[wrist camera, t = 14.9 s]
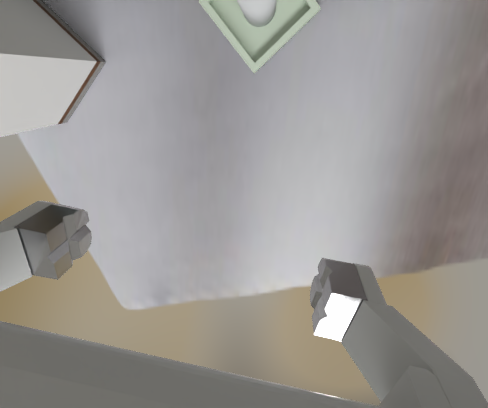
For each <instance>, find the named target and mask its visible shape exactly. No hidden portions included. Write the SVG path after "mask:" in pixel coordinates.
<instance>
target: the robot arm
mask: <svg viewBox="0 0 488 408" xmlns="http://www.w3.org/2000/svg"><path fill="white" fill-rule="evenodd" d="M88 222H89V218H88V213H87V212H86V211H85V210H83V209H79V208H74V207H70V206H65V205H61V204H55V203H51V202H46V201H37V202H35V203H33V204H32V205H30V206H28V207H26V208H25V209H23V210H21V211H19V212H17V213H16V214H14V215H12V216H10V217H8V218H7V219H5V220H3V221H1V222H0V291H2V290H4V289H7V288H8V287H11V286H13V285H15V284H17V283H19V282H21V281H23V280H25V279H27V278H30V277H32V275H36V276H41V277H46V278H52V279H57V280H58V279H59V278H60V277H61V276H62V275H63V274H64V273H65V272H66V271H67V270H68V269H69V268H71V267H72V263H73V260H75V259H77V258H80V257H82V256H83V255H84V254H85V253H86V252H87V250H88V248H89V246H90V244H91V239H92V236H91V231H90V230H89V228H88V227H87V226H86V224H87V223H88ZM318 271H319V274H318V275H316V276H315V277H314V279H313V282H312V286H311V291H310V302H311V306H312V307H313V308H314V313H313V315H312V321H313V329H314V335H318V336H322V337H326V338H330V339H334V340H338V341H342V342H341V343H342V344H343V346H344V347H345V349H346V350H347V352H348V353H349V355H350V356H351V358H352V359H353V361H354V362H355V364H356V365H357V367H358V368H359V370H360V371H361V373H362V374H363V376H364V377H365V379H366V380H367V382H368V383H369V385H370V386H371V388H372V389H373V391H374V392H375V394H376V395H377V397H378V398H379V400H380V401H381V403H380V405H379V406H376V405H371V404H367V403H362V402H358V401H353V400H349V399H345V398H340V397H336V396H331V395H327V394H322V393H318V392H314V391H309V390H305V389H300V388H296V387H291V386H287V385H283V384H278V383H273V382H269V381H265V380H259V379H255V378H251V377H246V376H242V375H238V374H233V373H229V372H224V371H220V370H215V369H211V368H206V367H202V366H197V365H193V364H189V363H184V362H179V361H175V360H171V359H166V358H162V357H157V356H153V355H148V354H144V353H140V352H135V351H131V350H126V349H121V348H117V347H113V346H108V345H104V344H100V343H95V342H91V341H86V340H82V339H77V338H73V337H68V336H64V335H59V334H55V333H51V332H46V331H42V330H38V329H33V328H29V327H24V326H20V325H15V324H11V323H6V322H2V321H0V408H488V403H487V401H486V399H485V398H484V396H483V394H482V393H481V391H480V389H479V388H478V386H477V384H476V383H475V381H474V379H473V378H472V377H471V376H470V375H469V374H468V373H467V372H465V371H464V370H463V369H462V368H461V367H460V366H459V365H458V364H456V363H455V362H454V361H453V360H452V359H451V358H450V357H448V355H446V354H445V353H444V352H443V351H442V350H441V349H440V348H439V347H437V346H436V345H435V344H434V343H433V342H432V341H431V340H430V339H428V338H427V337H426V336H425V335H424V334H423V333H422V332H421V331H419V330H418V329H417V328H416V327H415V326H414V325H413V324H412V323H410V322H409V321H408V320H407V319H406V318H405V317H404V316H403V315H401V314H400V313H399V312H398V311H397V310H396V309H395V308H394V307H392V306H389V305H387V304H386V302H385V299H384V297H383V295H382V292H381V290H380V288H379V285H378V283H377V281H376V278H375V276H374V274H373V271H372V269H371V268H370V267H369V266H366V265H360V264H354V263H353V264H351V263H346V262H341V261H336V260H331V259H326V258H322V259H321V261H320V263H319V265H318Z"/></svg>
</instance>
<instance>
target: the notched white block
mask: <svg viewBox="0 0 488 408" xmlns="http://www.w3.org/2000/svg"><path fill="white" fill-rule="evenodd" d="M105 63H106V62H105V61H104V60H103V59H102V58H101V57H100V56H99V55H98V54H97V53H96V52H95V51H94V50H93V49H92V48H90V47H89V46H88V45H87V44H86V43H85V42H84V41H83V40H82V39H81V38H80V37H79V36H78V35H77V34H76V33H75V32H74V31H73V30H72V29H71V28H70V27H69V26H68V25H67V24H65V23H64V22H63V21H62V20H61V19H60V18H59V17H58V16H57V15H56V14H55V13H54V12H53V11H52V10H51V9H50V8H49V7H48V6H47V5H46V4H45V3H44V2H43V1H42V0H0V137H4V136H8V135H12V134H17V133H21V132H26V131H30V130H35V129H39V128H43V127H48V126H52V125H57V124H61V123H66V122H68V120H69V119H70V117H71V116H72V114H73V112H74V111H75V109H76V108H77V106H78V105H79V103H80V102H81V100H82V98H83V97H84V95H85V94H86V92H87V91H88V89H89V88H90V86H91V84H92V83H93V81H94V80H95V78H96V77H97V75H98V73H99V72H100V70H101V69H102V67H103V66H104V64H105Z"/></svg>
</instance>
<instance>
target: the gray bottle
mask: <svg viewBox="0 0 488 408" xmlns="http://www.w3.org/2000/svg"><path fill="white" fill-rule="evenodd" d="M237 2H238V4H239V6H240V8H241V10H242V12H243V14H244V16H245V19H246V20H247V21H248V23H249V24H251V25H252V26H255V27H263V26H265V25H267V24H269V23H270V22H271V20H272V19H273V17H274V15H275V12H276V4H277V0H237Z"/></svg>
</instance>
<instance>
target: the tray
mask: <svg viewBox="0 0 488 408" xmlns="http://www.w3.org/2000/svg"><path fill="white" fill-rule="evenodd" d="M199 3H200V4H201V5H202V7H203V8H204V9H205V11H206V12H207V13H208V15H209V16H210V17H211V18H212V20H213V21H214V22H215V24H216V25H217V26H218V27H219V29H220V30H221V31H222V33H223V34H224V35H225V36H226V38H227V39H228V40H229V42H230V43H231V44H232V46H233V47H234V48H235V49H236V51H237V52H238V53H239V55H240V56H241V57H242V58H243V60H244V61H245V62H246V64H247V65H248V66H249V67H250V69H251V70H252V71H253V73H256V72H257V71H258V70H259V69H260V68H261V67H262V66H263V65H264V64H265V63H266V62H267V61H268V60H269V59H270V58H271V57H272V56H273V55H274V54H275V53H277V52H278V51H279V50H280V49H281V48H282V47H283V46H284V45H285V44H286V43H287V42H288V41H289V40H290V39H291V38H292V37H293V36H294V35H295V34H296V33H297V32H298V31H299V30H300V29H301V28H302V27H303V26H305V25H306V24H307V23H308V22H309V21H310V20H311V19H312V18H313V17H314V16H315V15H316V14H317V13H318V12H319V11H320V9H321V8H320V6H319V5H318V3H317V2H316V0H277V4H276V12H275V15H274V17H273V19H272V20H271V22H270V23H269V24H267V25H265V26H263V27H255V26H252V25H251V24H249V23H248V21H247V20H246V19H245V16H244V14H243V12H242V10H241V8H240V6H239V4H238V2H237V0H200V1H199Z"/></svg>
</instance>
